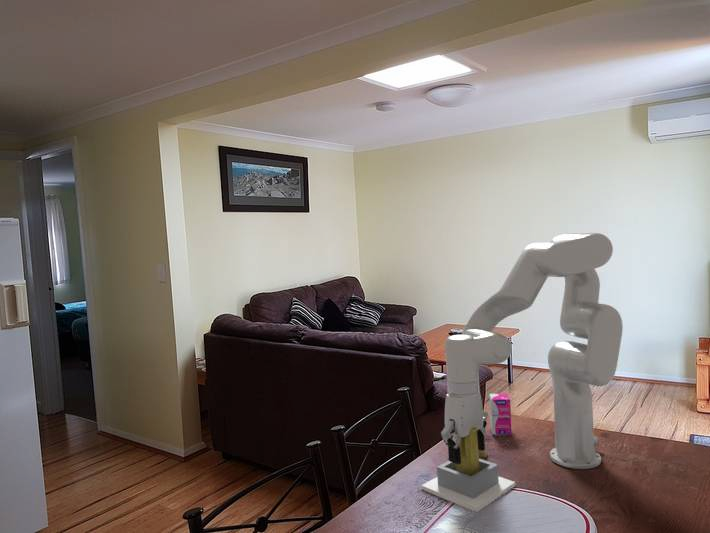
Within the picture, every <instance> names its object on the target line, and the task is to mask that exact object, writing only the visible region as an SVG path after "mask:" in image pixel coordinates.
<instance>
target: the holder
mask: <svg viewBox="0 0 710 533" xmlns="http://www.w3.org/2000/svg"><path fill="white" fill-rule="evenodd" d="M479 464H480V472H478V473H476V474H475V475H473V476H468V475H466V474H463V473H460V472H457V471H456V463H453V462H450V461H449V460H447V461H446V462H444V463H441V464H440V465H438V466H436V474H437V476H436V477H434V478H432V479H431V480H429V481H426V482H425V483H423V484H421V490H422V491H425V492H427V493H429V494H432V495H434V496H436V497H439V498H441V499H444V500H446V501H449V502H451V503H453V504H456V505H458V506H460V507H462V508H466V509H468V510H469V511H473V512H475V513H478V512H479V511H481V510H482V509H484V508H485V507H487V506H489V504H491V503H493V502H494V501H496V500H497V499H499V498H500V497H501V495H502V494H503V493H504V494H506V493H507V492H509V491H511V490H512V489H513V488H515V487H516V481H512V480H510V479H507V478H504V477H502V476H499V465H498V464H497V463H493V462H492V461H488V460H485V459H479ZM511 488H512V489H511ZM508 490H509V491H508ZM506 491H507V492H506ZM505 492H506V493H505ZM504 494H503V495H504ZM503 495H502V496H503ZM498 497H499V498H498ZM495 499H496V500H495ZM492 501H493V502H492Z"/></svg>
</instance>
